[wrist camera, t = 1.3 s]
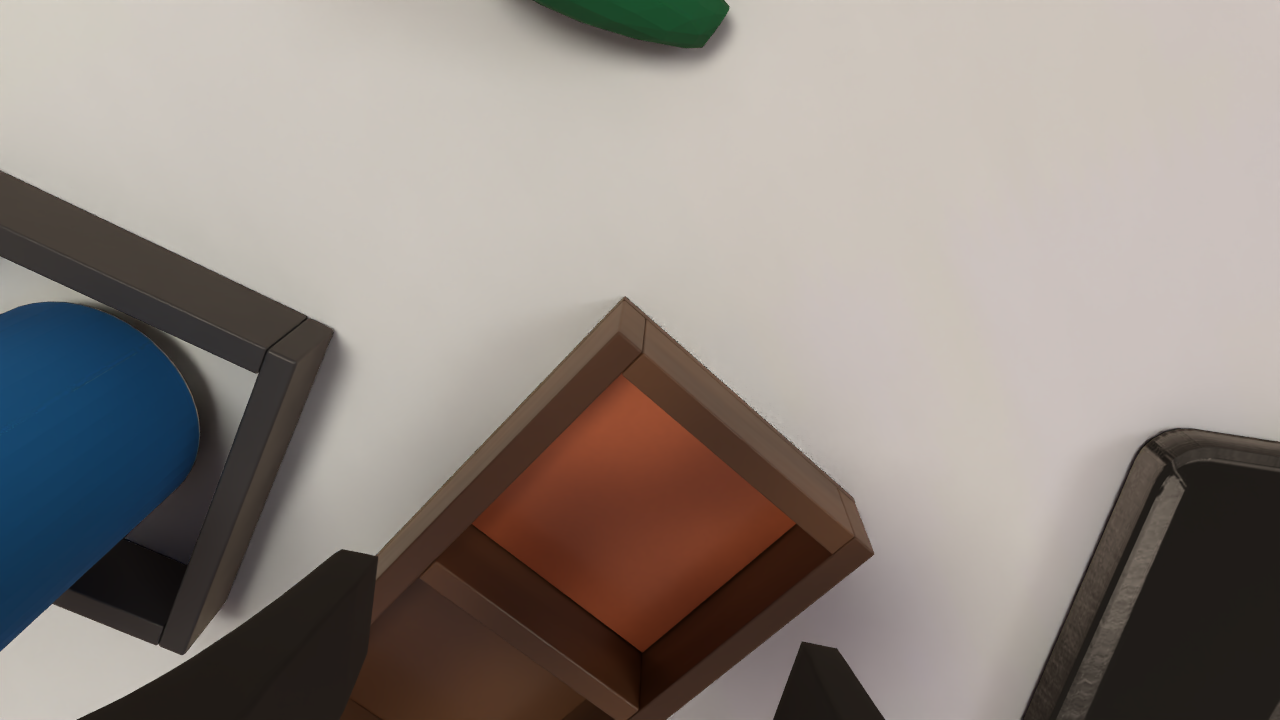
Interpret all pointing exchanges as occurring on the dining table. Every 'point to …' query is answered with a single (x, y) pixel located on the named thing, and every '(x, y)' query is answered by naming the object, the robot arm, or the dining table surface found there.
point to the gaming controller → (649, 18)
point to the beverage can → (80, 446)
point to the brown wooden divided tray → (604, 548)
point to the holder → (214, 321)
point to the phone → (1178, 592)
